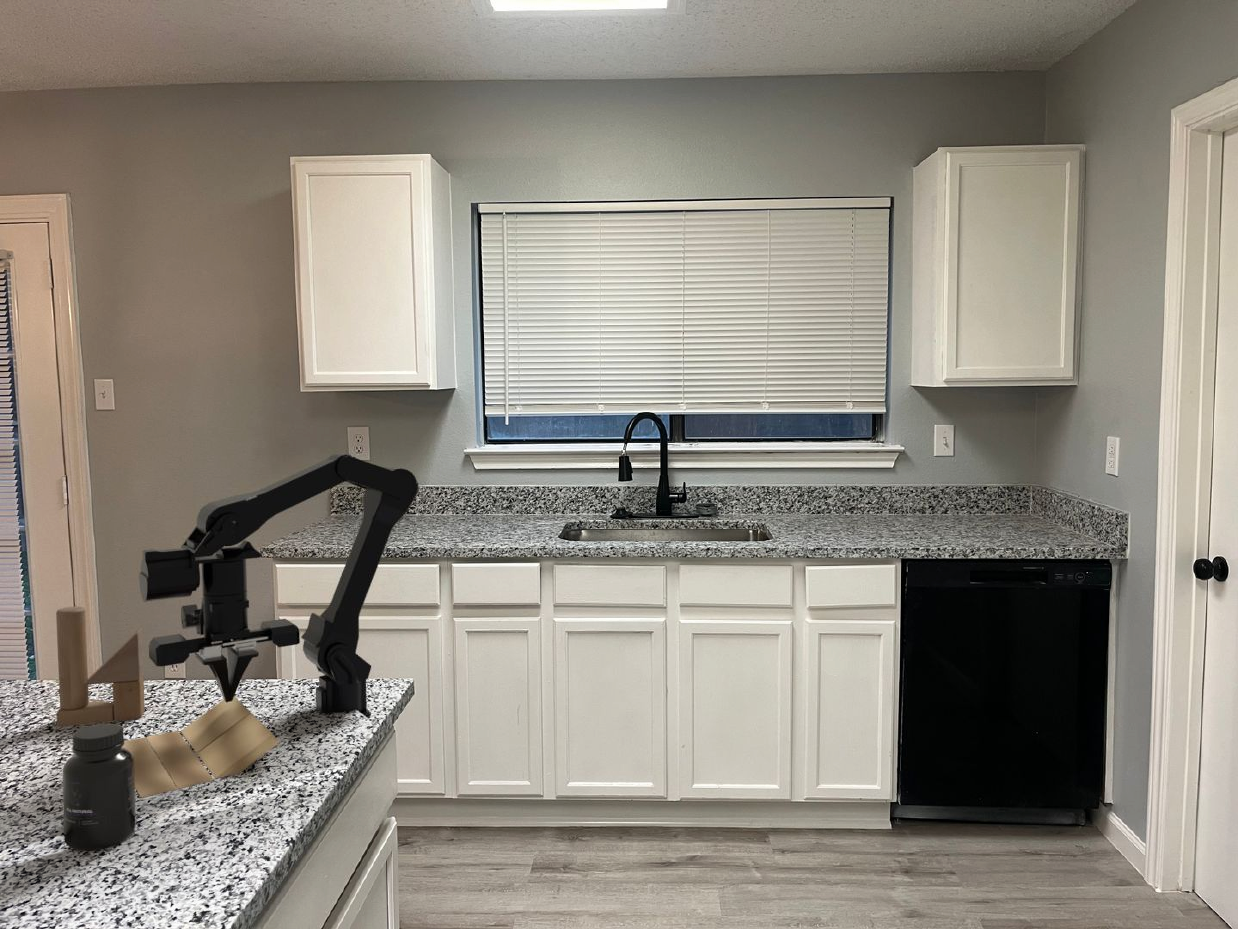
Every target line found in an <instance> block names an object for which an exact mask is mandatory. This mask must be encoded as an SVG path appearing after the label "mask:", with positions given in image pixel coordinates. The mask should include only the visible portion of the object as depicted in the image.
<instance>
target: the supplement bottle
mask: <svg viewBox="0 0 1238 929" xmlns="http://www.w3.org/2000/svg"><path fill="white" fill-rule="evenodd" d="M124 741H125V737H124V728H123V726H122V725H120V724H116V723H97V724H94V725H90V726H89V725H88V726H85V727H83V728H80V729H77V731H75V732H74V733H73V734H72V747H71V748H72V753H73V754H74V755H72V756H71V757H69V759H68V760H66V762H65V764H64V765H63V768H62V802H63V805H62V806H63V810H62V811H63V832H64V834H63V835H64V836H63V840H64V842H65V844H66V846H67V847H68V848H70V849H73V850H76V851H88V852H89V851H97V850H102V849H105V848H106V849H107V848H109V847H112V846H115V845H118V844H120V843H122V842H123V841H125V840H127V839H129V837H130V836H131V835H132V834H133V833H134V831H135V830H136V787H135V768H134V756H133V755H132V753H131V752H130V751H129V750H127V749H126V748H123V747H122V746H123V745H124Z"/></svg>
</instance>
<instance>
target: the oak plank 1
mask: <svg viewBox="0 0 1238 929" xmlns="http://www.w3.org/2000/svg"><path fill="white" fill-rule="evenodd" d="M251 713H252V712H251V710H249V709H248V708H247V707H246V706H245V705H244V704H243V703H242V702H241V701H240V700H239V699H238V698H237V697H236V696H235V695H234V698H233V700H232V701H231V702H225V701H224V699H223V700H221V701H220V702H218V704H216V705H214V706H213V707H212V708H210V709H209V710H208V711H207V712H205V713H203V714H202V715H201V716H200V717H198V718H197V719H195V720H194V721H192V722H191V723H190V724H188V725H187V726H186V727H184V728H183V729H182V730H180V732H181V735H183V737H184V738H185V739H186V741H187V742H188V743H189V744H190V746H191V747H192V748H193V750H194V751H195V752H196V754H198V753H199V752H200V751H202V750H203V749H204V748H206V747H207V746H208V745H210V744H211V743H212V742H214V741H215V740H216V739H218V738H219V737H220V736H222V735H223V734H224V733H226V732H227V731H228V730H230V729H231V728H232V727H234V726H235V725H236V724H238V723H239V722H240V721H242V720H243V719H244V718H246V717H247V716H248V715H250V714H251Z"/></svg>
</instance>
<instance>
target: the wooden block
mask: <svg viewBox="0 0 1238 929" xmlns="http://www.w3.org/2000/svg"><path fill="white" fill-rule="evenodd" d="M55 616H56V619H55V620H56V638H57V639H56V640H57V642H56V643H57V665H58V687H59V688H58V689H59V692H58V694H59V707H60V708H59V709H58V710H57V712H55V713H56V714H55V715H56V718H55V719H56V727H57V728H61V727H69V726H78V725H80V726H81V725H90V724H102V723H109V722H113V721H114V722H121V721H128V720H138V719H139V720H140V719H141V718H143V715H144V714H145V710H146V707H145V706H146V705H145V680H144V678H145V677H144V675H143V674H144V656H143V650H144V649H143V628H142V627H139V628H138V629H137V630H136V631H135V632H134V633H133V634H132V635H131V636H130V637H129V638H128V639H127V640H126V641H125V642H124V643H123V644H122V645H121V646H120V647H119V648H117V650H116V651H115V652H114V653H113V654H111V656H110V657H109V658H108V659H106V661H105V662H103V664H101V666H100V667H99V668H98V669H97V670H95V672H93V673H92V674H91V675H90V677H89V671H88V647H87V646H88V644H87V642H88V641H87V640H88V639H87V620H86V617H87V616H86V608H85V607H83V606H66V607H63V608H59V609H57V610H56V612H55ZM111 683H112V702H109V701H106V700H98V701H97V700H96V701H90V696H89V685H98V684H99V685H100V684H111Z"/></svg>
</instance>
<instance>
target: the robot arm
mask: <svg viewBox="0 0 1238 929" xmlns="http://www.w3.org/2000/svg"><path fill="white" fill-rule="evenodd" d="M345 482H346V483H348V484H351V485H353V486H356V487H358V488H361V489H364V493H363V494H364V495H363V517H362V521H361V524H360V525H359V529H358V532H357V534H356V536H355V539H354V541H353V544H352V547H351V550H350V552H349V555H348V557H347V560H346V563H345V564H344V567H343V570H342V572H341V575H340V577H339V580H338V583H337V585H336V587H335V590H334V593H333V594H332V598H331V601H330V602H329V605H328V606H327V608H325V610H324V611H323V612H322V613H321V614H320V615H318V614H317V613H315V612H312V613H311V614H310V616H309V620H308V624H307V627H306V630H305V632H303V634H302V635H301V634H300V633H301V632H300V629H299V626H297V625H296V624H294V623H293V622H292V621H290V620H289V619H287V618H279V619H274V620H272V619H271V620H268V621H267V620H266V621H262V622H261V623H260V627H259V628H257V629H249V616H248V615H249V613H248V612H249V611H248V610H249V609H248V608H250V600H249V599H248V574H247V573H248V572H247V570H248V569H247V560H250V559H260V558H262V556H263V553H262V552H260V551H259V550H257V549H256V548H255V547H254V546H253V545H252V543H251V541H249V540H246V539H247V538H249V537H250V536H251V535H253V534H254V533H256V532H257V531H258V530H260V529H261V527H263V526H264V525H265V524H266V523H267V522H268V521H269V520H271V519H272V518H273V517H275V516H277V515H278V514H280V513H282V512H285V511H286V510H289V509H290V508H293V507H295V506H297V505H299V504H301V503H303V502H305V501H307V500H309V499H312V498H313V497H316V496H317V495H320V494H322V493H324V492H326V491H328V490H330V489H332V488H334V487H336V486H338V485H340V484H343V483H345ZM418 492H419V483H418V481H417V478H416V476H415V474H413V472H411V471H410V470H408V469H405V468H401V467H394V466H388V465H384V466H380V465H377V464H373V463H371V462H367V461H365V460H362V459H359V458H357V457H356V456H354V455H352V454H348V453H339V452H336V453H333V454H332V455H330V456H329V457H328V458H326V459H324V460H322V461H319V462H318V463H316V464H313V465H311V466H309V467H307V468H304V469H302V470H300V471H298V472H296V473H293V474H291V475H289V476H287V477H285V478H283V479H281V480H278V481H276V482H274V483H272V484H269V485H267V486H266V487H263V488H260V489H259V490H256V491H252V492H248V493H242V494H237V495H233V496H229V497H225V498H222V499H218V500H214V501H211V502H208V503H207V504H205V505H204V506H202V507H201V508H200V509H199V512H198V514H197V517H196V526H195V527H194V528H193V529H192V531H191V533H189V535H188V536H187V537H186V539H185V541H184V542H183V543H182V545H181V547H179V548H178V547H177V548H169V549H167V548H166V549H154V548H153V549H151V548H150V549H143V551H142V560H141V563H140V571H139V572H138V581H139V590H140V595H141V599H142V601H143V602H144V603H147V602H153V601H154V602H155V601H162V600H170V599H171V600H173V599H178V598H180V599H181V598H186V597H188V598H189V597H191V596H192V595H193V592H197V589H199V588H200V584H201V583H202V584H201V587H202V588H201V590H202V591H201V592H202V597H201V607H200V608H198V604H194V603H193V604H187V605H182V606H181V607H180V621H181V627H182V630H187V629H193V628H194V629H195V630H196V635H200V636H203V637H198V638H197V637H196V638H191V639H186V637H184V636H183V634H181V633H177V634H169V635H163V636H157V637H155V636H154V637H153V638H151V640H150V641H149V644H148V658H149V659H150V660H151V661H152V663H153V664H154V665H155V667H168V666H172V665H173V666H175V665H180V664H184V663H185V662H186V661H187V659H189V657H190V654H194V656H195V658H196V659H197V661H199V662H200V663H201V664H202V666H203V665H204V666H208V667H209V669H210V670H211V672H212V674H213V676H214V679H215V681H216V683H217V686H218V688H219V691H220V693H221V696H222V697H223V700H224V701H225V702H231V701H232V700H233V698H234V696H235V695H236V692H237V690H238V688H239V686H240V682H241V680H242V678H243V675H244V673H245V672H246V670H247V669H248V667H249V664H250V662H251V661H252V659H253V658H258V657H259V655H260V653H259V651H257V650H256V646H257V644H259V643H265V642H272V643H273V644H274V645H275V646H277V647H278V648H284V647H290V646H296V645H299V644H301V643H300V642H301V640H300V638H301V639H302V640H304V641H303V644H302V651H303V654H304V656H305V657H306V659H307V660H308V661H310V663H312V664H313V665H315V667H316V669H317V671H318V672H319V673H321V674H323V675H320V676H318V685H319V686H316V688H315V710H317V711H318V712H319V713H321V714H322V715H323V714H332V713H333V714H334V713H335V714H336V713H337V714H338V713H349V712H353V711H354V712H355V711H357V712H359V713H360V714H361V715H363V716H364V717H366V718H368V717H371V716H372V711H370V710H368V707H367V706H368V705H367V704H368V702H367V680H368V679H369V676H370V673H371V670H372V665H371V664H370V663H368V661H366V660H365V659H364V658H362V657H361V656H360V655H359V654H357V649H358V644H359V640H360V616H361V615H360V614H361V611H362V608H363V606H364V603H365V601H366V598H367V597H368V593H369V590H370V588H371V585H372V583H373V581H374V577H375V575H376V572H377V569H378V568H379V564H380V562H381V559H382V557H383V554H384V551H385V549H386V546H387V543H388V540H389V538H390V536H391V533H392V530H393V529H394V527H395V525H396V524H397V523H398V522H399V521H400V520H401V519H402V518H403V517H404V516H405V515H406V514H407V512H408V511H409V509H410V508H411V506H412V504H413V502H414V501H415V498H416V497H417V495H418ZM235 545H238V546H235ZM200 565H201V570H200ZM200 572H201V573H200ZM300 635H301V636H300ZM223 649H226V651H227V657H226V656H224V655H223Z"/></svg>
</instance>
